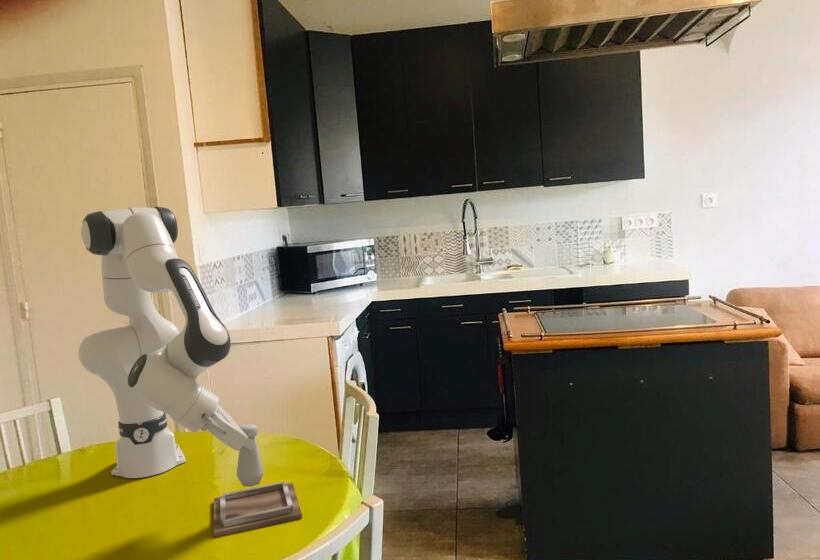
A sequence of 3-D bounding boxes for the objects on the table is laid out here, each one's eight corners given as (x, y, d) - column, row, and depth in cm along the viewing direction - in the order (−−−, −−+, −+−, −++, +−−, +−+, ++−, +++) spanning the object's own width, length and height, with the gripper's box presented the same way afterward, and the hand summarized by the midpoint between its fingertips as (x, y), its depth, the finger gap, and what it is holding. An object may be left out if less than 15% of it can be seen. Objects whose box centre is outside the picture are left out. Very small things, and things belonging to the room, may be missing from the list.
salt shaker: (257, 488, 144) (254, 429, 143) (232, 488, 145) (228, 429, 144) (268, 478, 150) (264, 421, 149) (244, 477, 151) (240, 421, 150)
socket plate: (214, 502, 155) (213, 493, 155) (292, 486, 160) (291, 477, 160) (214, 537, 138) (213, 526, 138) (302, 518, 143) (301, 508, 142)
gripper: (217, 408, 134) (272, 444, 139) (201, 388, 152) (249, 420, 157) (197, 435, 132) (253, 470, 137) (183, 412, 150) (232, 443, 156)
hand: (251, 443), depth 147 cm, fingers closed on salt shaker, 3 cm apart
